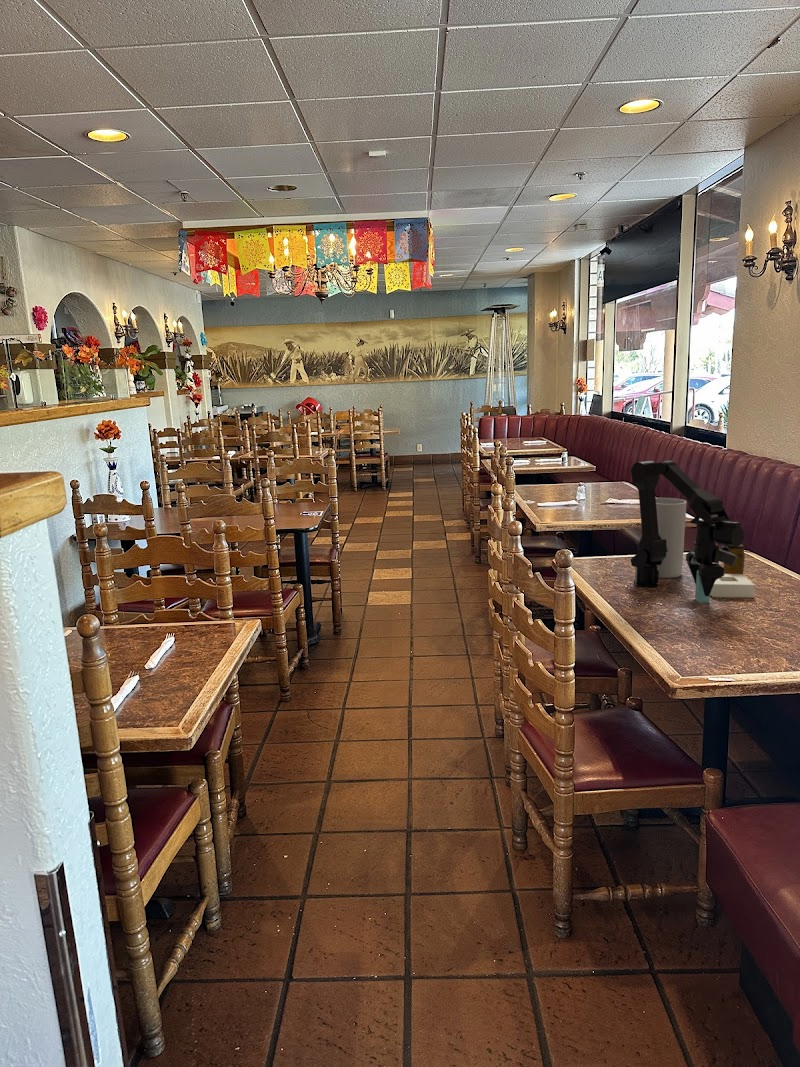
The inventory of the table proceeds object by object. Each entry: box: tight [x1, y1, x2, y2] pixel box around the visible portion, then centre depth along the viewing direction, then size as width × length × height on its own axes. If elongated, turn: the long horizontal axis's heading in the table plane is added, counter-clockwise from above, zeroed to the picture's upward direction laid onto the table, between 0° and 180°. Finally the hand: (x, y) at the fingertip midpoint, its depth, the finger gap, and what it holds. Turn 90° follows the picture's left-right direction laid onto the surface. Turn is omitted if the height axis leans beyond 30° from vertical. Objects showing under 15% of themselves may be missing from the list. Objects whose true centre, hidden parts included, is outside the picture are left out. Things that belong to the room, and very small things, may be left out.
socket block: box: [710, 574, 756, 599], centre depth 226 cm, size 12×12×4 cm
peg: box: [694, 570, 711, 604], centre depth 217 cm, size 3×3×9 cm
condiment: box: [722, 543, 754, 583], centre depth 236 cm, size 7×8×12 cm
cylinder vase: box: [656, 497, 687, 579], centre depth 245 cm, size 12×12×25 cm
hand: (702, 591), depth 217 cm, fingers open, 9 cm apart
